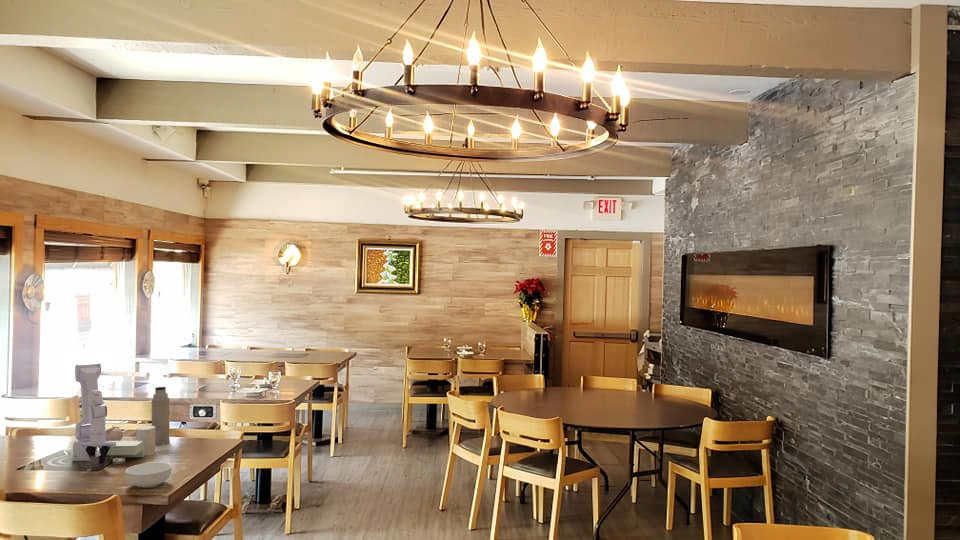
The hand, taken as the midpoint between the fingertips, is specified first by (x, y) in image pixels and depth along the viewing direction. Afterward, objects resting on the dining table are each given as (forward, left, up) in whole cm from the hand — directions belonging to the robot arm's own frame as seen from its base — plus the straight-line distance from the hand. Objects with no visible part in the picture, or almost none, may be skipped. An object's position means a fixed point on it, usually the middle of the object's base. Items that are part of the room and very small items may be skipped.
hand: (98, 463), depth 309 cm
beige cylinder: (+11, +24, -2) cm, 27 cm away
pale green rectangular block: (+5, +13, -2) cm, 14 cm away
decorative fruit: (-10, +38, -2) cm, 40 cm away
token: (+5, +9, -2) cm, 10 cm away
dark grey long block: (0, +5, -2) cm, 5 cm away
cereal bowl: (+32, -25, -2) cm, 40 cm away
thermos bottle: (+11, +42, -2) cm, 44 cm away
